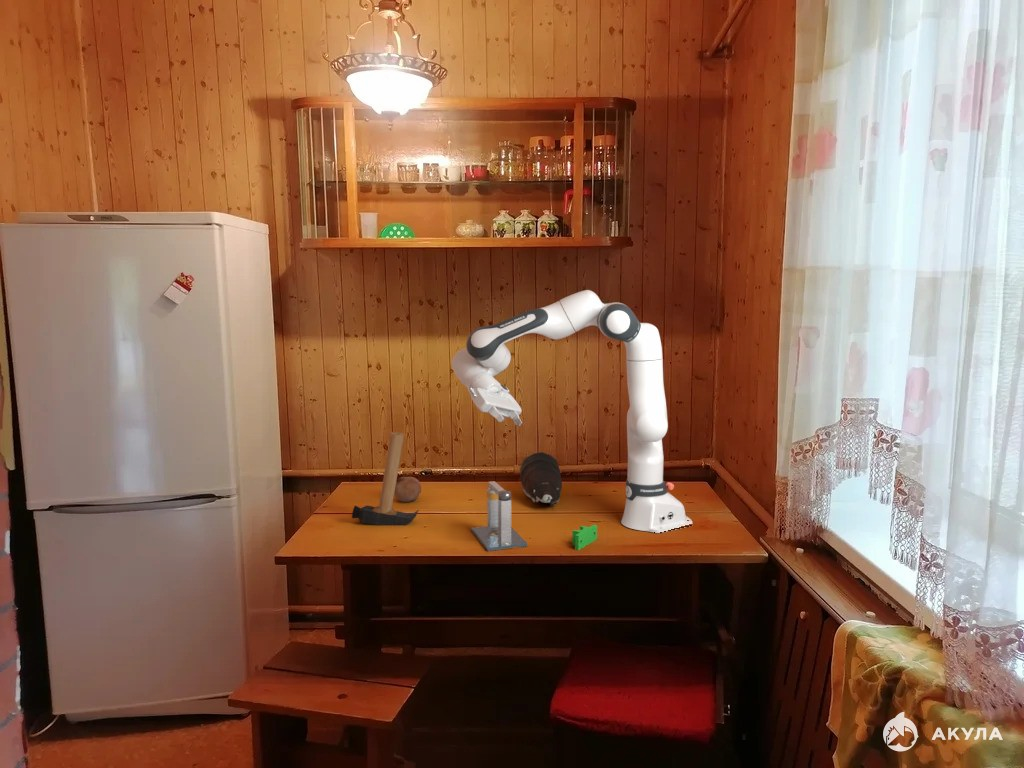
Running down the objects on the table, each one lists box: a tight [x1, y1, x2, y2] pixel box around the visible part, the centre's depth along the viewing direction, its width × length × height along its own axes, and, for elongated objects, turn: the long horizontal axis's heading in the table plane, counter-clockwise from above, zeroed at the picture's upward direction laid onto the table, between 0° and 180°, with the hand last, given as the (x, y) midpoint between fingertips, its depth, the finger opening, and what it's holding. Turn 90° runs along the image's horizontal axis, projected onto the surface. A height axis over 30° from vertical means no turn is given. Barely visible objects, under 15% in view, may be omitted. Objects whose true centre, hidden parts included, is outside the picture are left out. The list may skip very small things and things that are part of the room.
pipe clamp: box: [571, 524, 598, 551], centre depth 207 cm, size 11×4×5 cm, turn 145°
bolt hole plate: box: [470, 525, 529, 552], centre depth 211 cm, size 12×18×1 cm, turn 19°
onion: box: [394, 476, 422, 503], centre depth 248 cm, size 10×9×10 cm
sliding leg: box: [486, 487, 499, 530], centre depth 215 cm, size 3×3×13 cm
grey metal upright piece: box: [487, 481, 512, 544], centre depth 210 cm, size 4×15×15 cm, turn 19°
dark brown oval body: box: [519, 451, 563, 507], centre depth 247 cm, size 15×15×25 cm
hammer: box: [351, 431, 419, 527], centre depth 223 cm, size 20×5×30 cm, turn 89°
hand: (511, 422), depth 210 cm, fingers open, 8 cm apart
